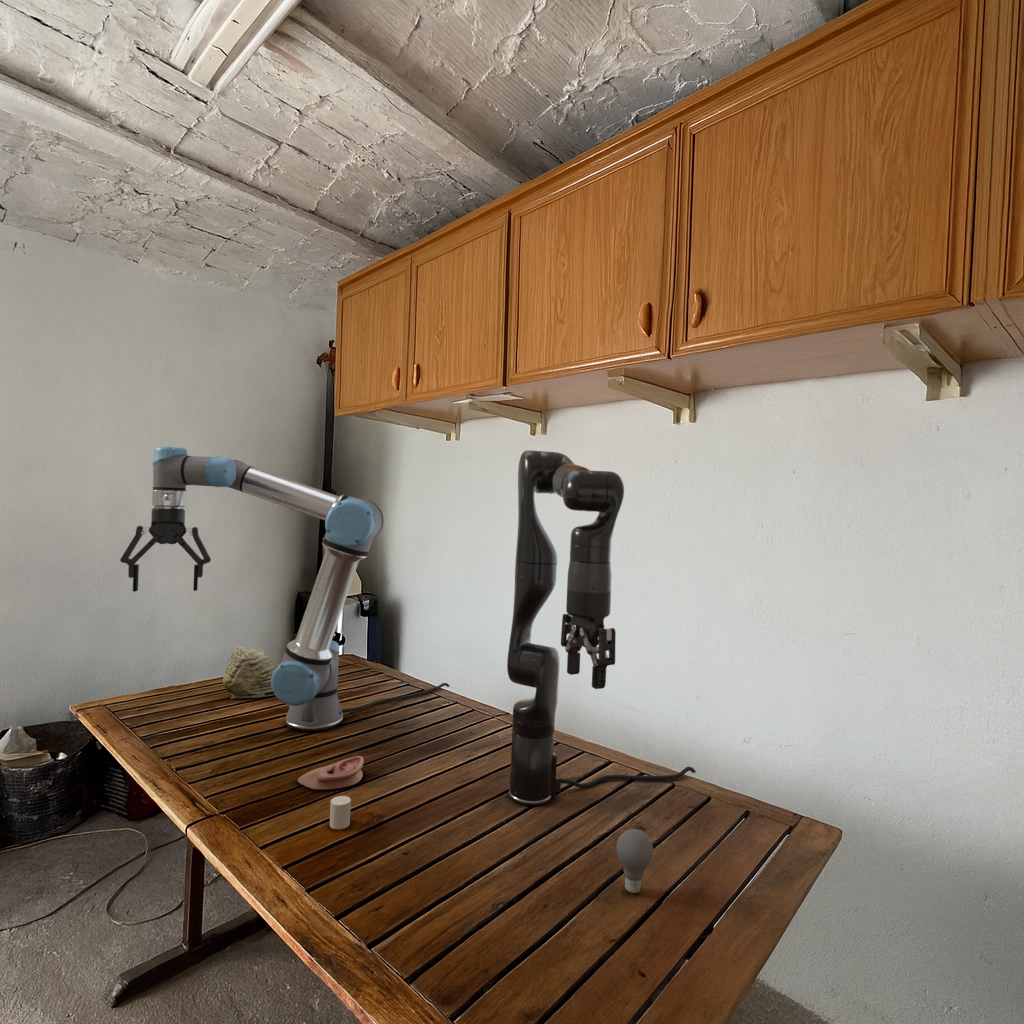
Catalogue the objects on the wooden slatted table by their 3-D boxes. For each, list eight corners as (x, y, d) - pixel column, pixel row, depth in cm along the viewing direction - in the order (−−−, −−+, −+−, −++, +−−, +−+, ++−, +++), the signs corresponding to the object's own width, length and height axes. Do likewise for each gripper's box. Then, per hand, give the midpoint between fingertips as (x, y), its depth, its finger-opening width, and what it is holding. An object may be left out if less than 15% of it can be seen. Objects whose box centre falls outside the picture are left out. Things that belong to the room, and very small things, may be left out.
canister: (352, 826, 123) (353, 801, 122) (333, 831, 120) (334, 806, 120) (345, 817, 126) (346, 794, 126) (326, 822, 123) (327, 798, 123)
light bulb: (610, 879, 108) (613, 822, 108) (644, 879, 109) (647, 822, 109) (619, 902, 102) (622, 840, 102) (655, 901, 103) (658, 840, 103)
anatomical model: (290, 768, 137) (317, 748, 149) (290, 786, 138) (316, 764, 149) (347, 776, 135) (370, 755, 146) (346, 794, 135) (369, 772, 146)
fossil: (218, 695, 195) (220, 647, 195) (278, 685, 208) (279, 640, 207) (228, 703, 189) (230, 653, 188) (289, 692, 201) (290, 645, 201)
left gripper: (108, 506, 154) (105, 593, 154) (221, 509, 163) (218, 591, 163) (115, 505, 161) (112, 588, 161) (222, 508, 170) (220, 587, 170)
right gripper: (631, 593, 103) (627, 691, 104) (586, 580, 116) (583, 667, 117) (591, 594, 100) (587, 695, 101) (550, 581, 113) (547, 671, 114)
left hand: (165, 590), depth 162 cm, fingers open, 13 cm apart
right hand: (585, 680), depth 109 cm, fingers open, 8 cm apart
